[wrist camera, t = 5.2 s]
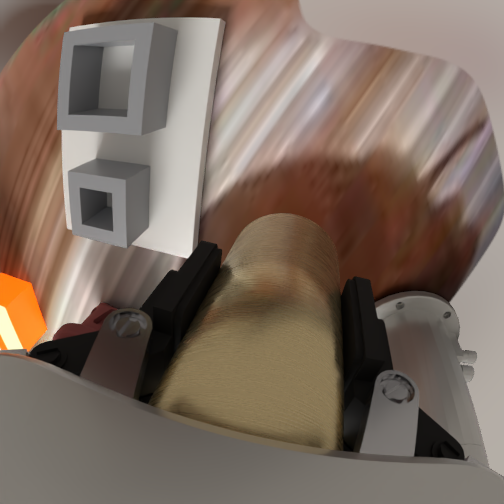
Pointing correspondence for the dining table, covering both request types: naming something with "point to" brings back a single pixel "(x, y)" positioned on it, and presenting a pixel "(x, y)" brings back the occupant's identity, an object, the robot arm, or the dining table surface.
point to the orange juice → (19, 314)
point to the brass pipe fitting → (266, 340)
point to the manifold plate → (137, 129)
